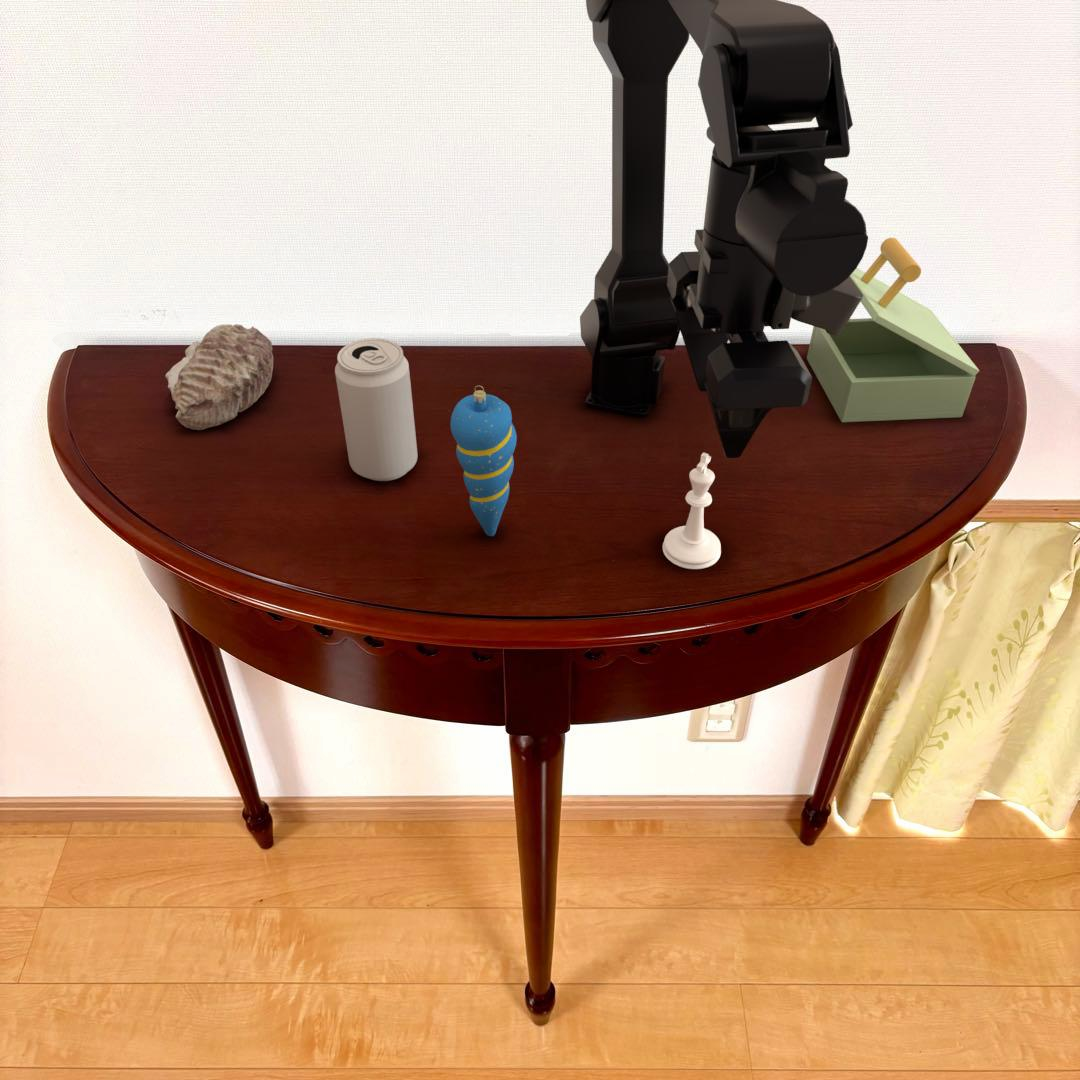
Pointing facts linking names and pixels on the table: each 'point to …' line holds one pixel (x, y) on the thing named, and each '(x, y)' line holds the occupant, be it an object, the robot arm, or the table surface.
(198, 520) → the table surface
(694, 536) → the chess piece
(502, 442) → the ornament
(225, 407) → the seashell
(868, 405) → the chest
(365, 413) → the beverage can
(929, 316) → the chest lid
